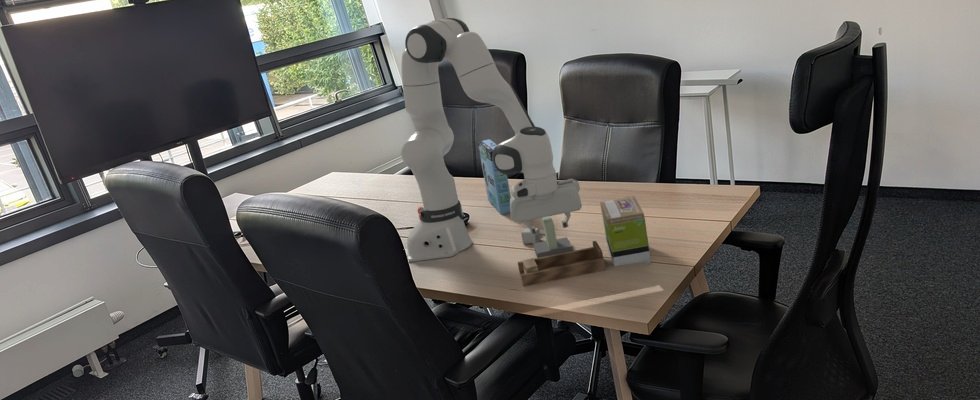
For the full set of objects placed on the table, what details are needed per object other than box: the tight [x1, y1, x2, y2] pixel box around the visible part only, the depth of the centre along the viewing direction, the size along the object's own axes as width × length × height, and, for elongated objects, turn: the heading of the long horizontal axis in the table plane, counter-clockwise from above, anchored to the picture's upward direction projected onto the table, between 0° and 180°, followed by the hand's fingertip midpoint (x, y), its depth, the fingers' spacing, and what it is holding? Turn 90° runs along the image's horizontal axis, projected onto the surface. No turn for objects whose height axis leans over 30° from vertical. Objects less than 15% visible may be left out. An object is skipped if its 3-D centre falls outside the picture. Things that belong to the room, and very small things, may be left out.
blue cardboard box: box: [477, 138, 512, 215], centre depth 265 cm, size 20×5×23 cm, turn 12°
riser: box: [533, 236, 573, 258], centre depth 214 cm, size 10×8×3 cm
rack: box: [517, 240, 606, 287], centre depth 200 cm, size 22×10×6 cm, turn 93°
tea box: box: [600, 195, 652, 267], centre depth 202 cm, size 15×10×15 cm
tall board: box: [541, 216, 558, 250], centre depth 213 cm, size 2×7×8 cm, turn 3°
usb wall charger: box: [521, 227, 545, 245], centre depth 227 cm, size 4×7×4 cm, turn 63°
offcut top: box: [521, 257, 538, 273], centre depth 199 cm, size 3×6×2 cm, turn 7°
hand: (549, 230), depth 213 cm, fingers open, 8 cm apart
